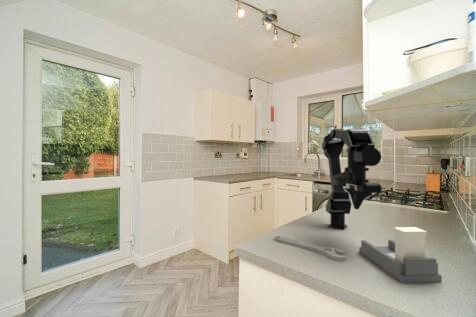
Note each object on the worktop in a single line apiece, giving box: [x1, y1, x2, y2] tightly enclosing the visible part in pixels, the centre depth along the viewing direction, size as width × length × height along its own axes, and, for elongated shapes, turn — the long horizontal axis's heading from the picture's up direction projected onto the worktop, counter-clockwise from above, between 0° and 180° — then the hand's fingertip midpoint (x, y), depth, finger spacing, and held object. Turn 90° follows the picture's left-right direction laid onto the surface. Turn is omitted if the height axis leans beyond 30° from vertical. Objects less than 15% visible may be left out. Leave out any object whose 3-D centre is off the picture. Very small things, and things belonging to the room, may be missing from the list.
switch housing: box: [358, 239, 443, 284], centre depth 65 cm, size 18×10×6 cm, turn 2°
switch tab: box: [393, 226, 428, 264], centre depth 59 cm, size 5×6×10 cm
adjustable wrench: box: [273, 235, 348, 262], centre depth 77 cm, size 25×6×2 cm, turn 45°
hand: (356, 209), depth 81 cm, fingers closed
